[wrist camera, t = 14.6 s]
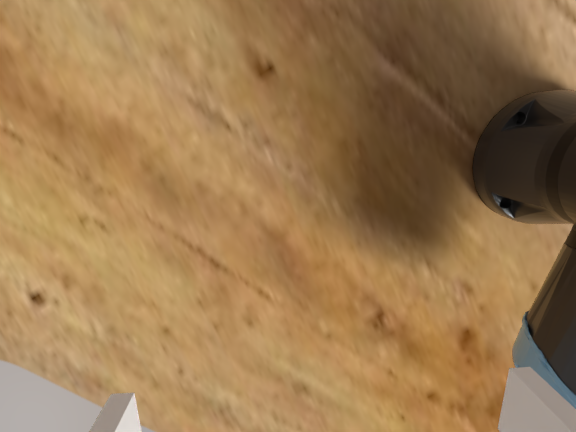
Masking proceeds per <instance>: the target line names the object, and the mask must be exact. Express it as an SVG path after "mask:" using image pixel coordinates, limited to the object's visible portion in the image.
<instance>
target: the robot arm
mask: <svg viewBox="0 0 576 432" xmlns="http://www.w3.org/2000/svg"><path fill="white" fill-rule="evenodd" d="M473 177H474V182H475V186H476V189H477V192H478V194H479V196H480V197H481V199H482V200H483V202H484V203H485V204H486V205H487V206H488V207H489V208H490V209H492V210H493V211H494V212H496V213H498V214H500V215H502V216H504V217H507V218H510V219H512V220H515V221H518V222H523V223H529V224H574V225H573V227H572V230H571V232H570V234H569V236H568V237H567V239H566V241H565V243H564V245H563V247H562V249H561V251H560V253H559V255H558V257H557V259H556V261H555V263H554V265H553V267H552V269H551V270H550V272H549V274H548V276H547V278H546V280H545V282H544V284H543V286H542V288H541V290H540V291H539V293H538V295H537V297H536V299H535V301H534V303H533V305H532V307H531V309H530V310H529V311H527V312H525V314H524V316H523V319H522V323H523V325H522V327H521V329H520V332H519V334H518V336H517V338H516V341H515V343H514V346H513V351H512V355H513V362H514V365H515V367H516V368H509V373H508V378H507V384H506V389H505V394H504V399H503V404H502V409H501V414H500V420H499V425H498V430H499V431H500V432H576V91H573V90H551V91H542V92H536V93H532V94H528V95H526V96H523V97H521V98H519V99H517V100H515V101H513V102H512V103H510V104H509V105H507V106H506V107H504V108H503V109H502V110H501V111H500V112H499V113H498V114H497V115H496V116H495V117H494V118H493V119H492V120H491V122H490V123H489V124H488V126H487V127H486V129H485V130H484V132H483V134H482V135H481V138H480V140H479V142H478V145H477V148H476V151H475V155H474V161H473ZM89 432H141V426H140V421H139V415H138V410H137V405H136V399H135V394H134V393H120V394H111V395H110V397H109V398H108V400H107V402H106V403H105V405H104V407H103V409H102V410H101V412H100V414H99V416H98V417H97V419H96V421H95V423H94V424H93V426H92V428H91V429H90V431H89Z"/></svg>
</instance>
